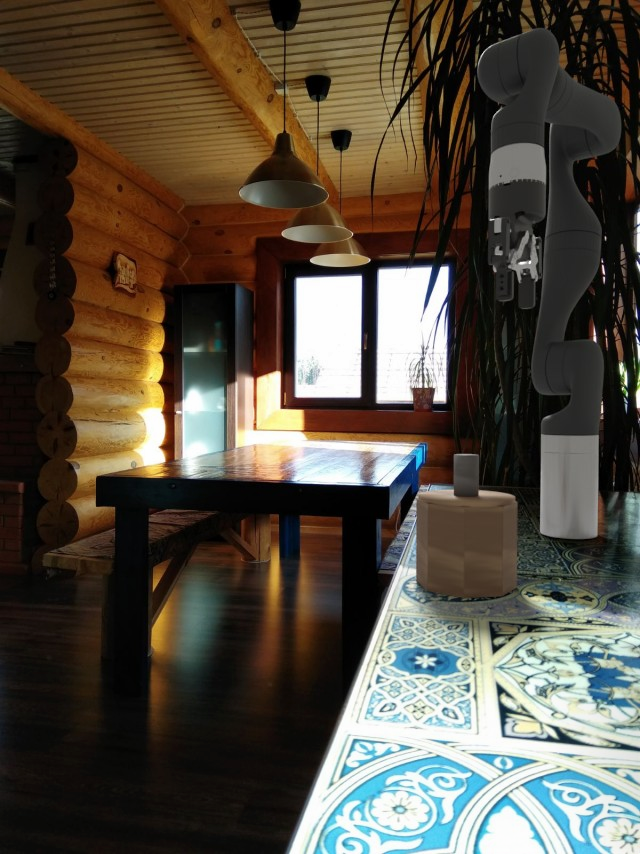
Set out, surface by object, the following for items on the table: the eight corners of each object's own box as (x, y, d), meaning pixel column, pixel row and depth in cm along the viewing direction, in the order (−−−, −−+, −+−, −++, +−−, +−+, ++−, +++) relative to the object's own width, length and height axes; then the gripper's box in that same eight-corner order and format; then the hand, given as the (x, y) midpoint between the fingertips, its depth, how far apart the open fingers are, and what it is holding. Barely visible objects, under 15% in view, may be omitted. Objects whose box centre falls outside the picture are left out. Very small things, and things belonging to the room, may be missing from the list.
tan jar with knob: (443, 567, 88) (444, 450, 88) (528, 581, 81) (529, 454, 81) (401, 586, 79) (401, 455, 78) (492, 603, 72) (493, 460, 71)
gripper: (509, 204, 97) (508, 313, 97) (469, 177, 86) (469, 300, 86) (560, 194, 93) (559, 308, 93) (526, 164, 81) (525, 294, 82)
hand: (516, 304), depth 90 cm, fingers open, 8 cm apart
